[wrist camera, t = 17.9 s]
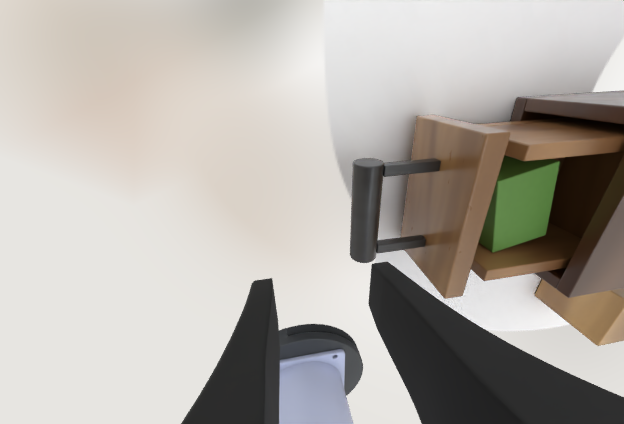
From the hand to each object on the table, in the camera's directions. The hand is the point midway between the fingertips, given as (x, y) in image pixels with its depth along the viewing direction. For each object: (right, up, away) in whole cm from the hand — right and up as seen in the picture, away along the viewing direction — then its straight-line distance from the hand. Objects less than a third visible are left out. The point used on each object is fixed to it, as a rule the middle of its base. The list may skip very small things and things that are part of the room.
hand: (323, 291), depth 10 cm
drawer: (+9, +5, +9) cm, 14 cm away
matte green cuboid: (+11, +4, +8) cm, 15 cm away
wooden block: (+25, -3, +17) cm, 31 cm away
